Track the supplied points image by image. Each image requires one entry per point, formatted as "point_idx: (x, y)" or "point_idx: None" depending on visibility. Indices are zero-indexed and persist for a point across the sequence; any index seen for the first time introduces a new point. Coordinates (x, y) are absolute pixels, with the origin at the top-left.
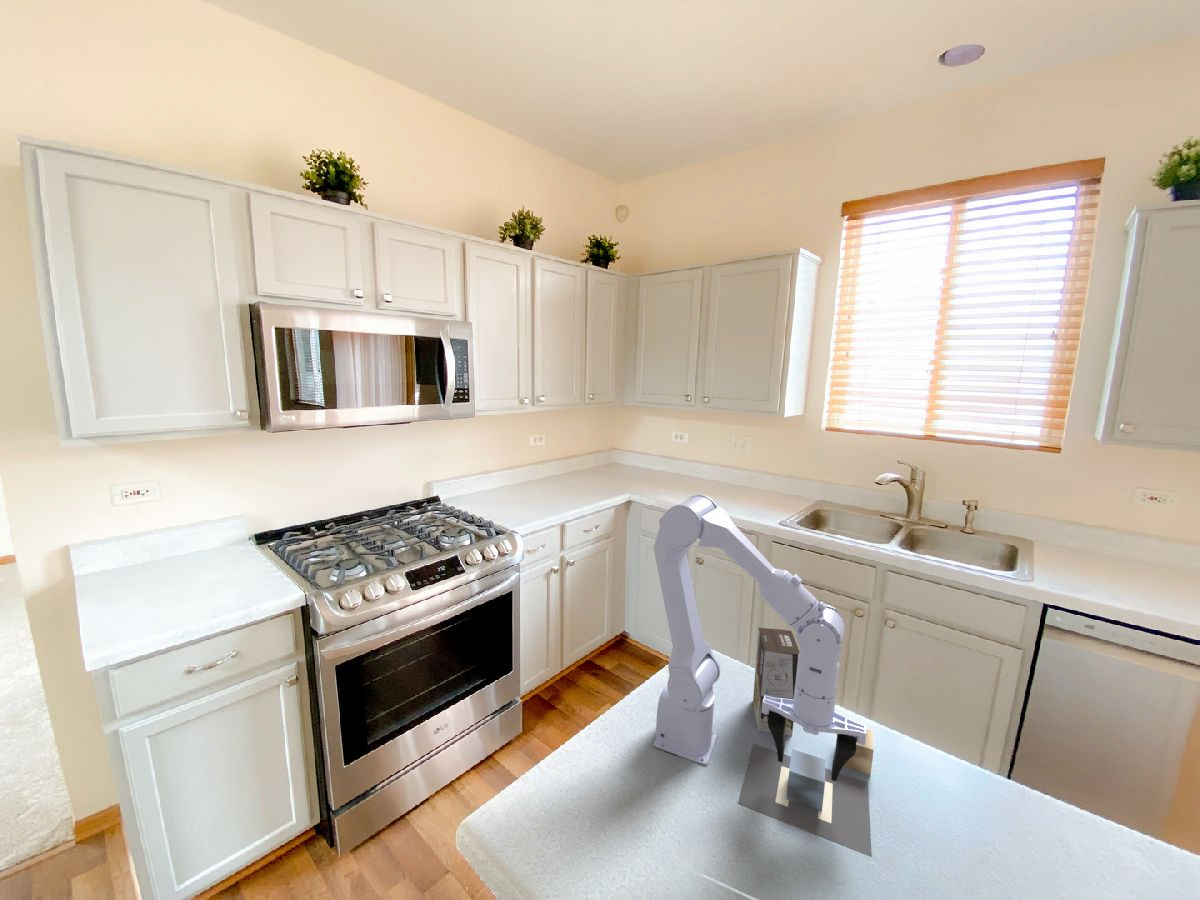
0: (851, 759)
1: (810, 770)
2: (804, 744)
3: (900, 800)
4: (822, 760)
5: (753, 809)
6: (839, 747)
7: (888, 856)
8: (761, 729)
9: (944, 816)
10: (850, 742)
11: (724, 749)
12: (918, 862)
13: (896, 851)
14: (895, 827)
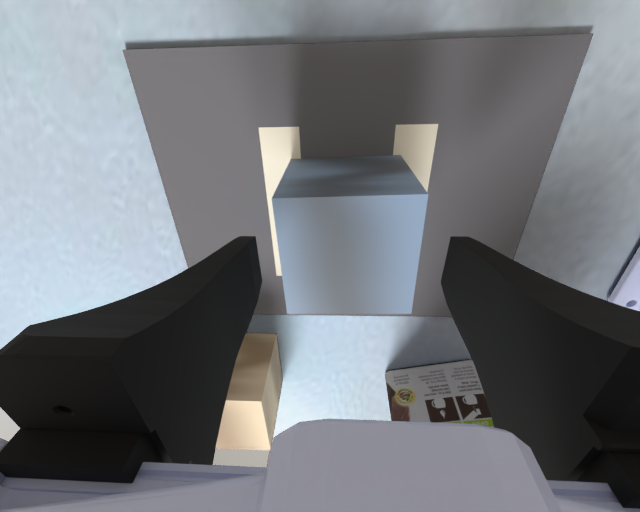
0: (238, 355)
1: (335, 239)
2: (354, 360)
3: (129, 295)
4: (296, 306)
5: (527, 39)
6: (99, 353)
7: (90, 89)
8: (465, 365)
9: (42, 292)
10: (56, 424)
11: (588, 267)
12: (22, 114)
13: (80, 123)
14: (111, 209)
